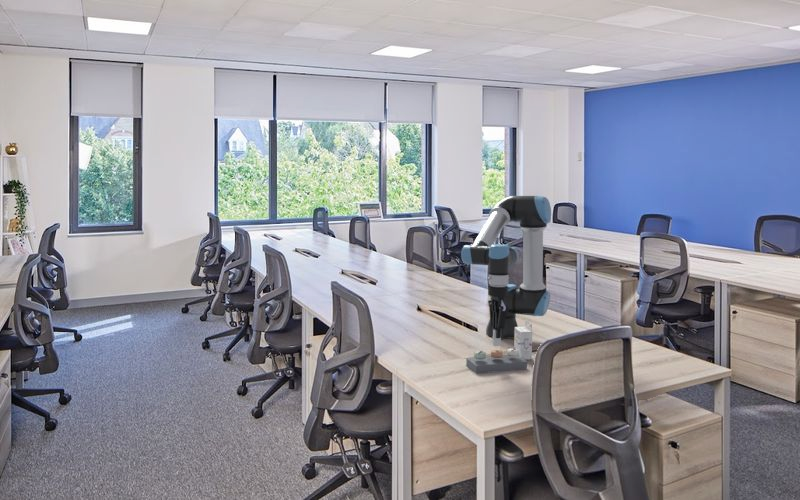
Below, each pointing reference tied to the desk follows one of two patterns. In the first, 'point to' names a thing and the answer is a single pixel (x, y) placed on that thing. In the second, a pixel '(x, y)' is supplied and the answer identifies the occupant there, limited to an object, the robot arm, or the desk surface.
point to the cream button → (513, 352)
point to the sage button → (479, 355)
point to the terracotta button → (496, 353)
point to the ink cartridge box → (524, 341)
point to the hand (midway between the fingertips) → (496, 345)
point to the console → (496, 364)
